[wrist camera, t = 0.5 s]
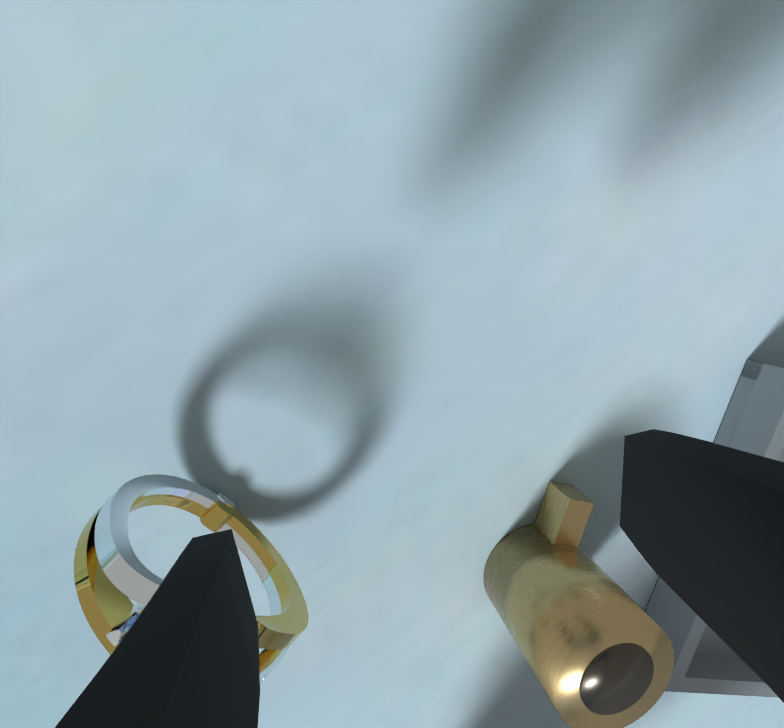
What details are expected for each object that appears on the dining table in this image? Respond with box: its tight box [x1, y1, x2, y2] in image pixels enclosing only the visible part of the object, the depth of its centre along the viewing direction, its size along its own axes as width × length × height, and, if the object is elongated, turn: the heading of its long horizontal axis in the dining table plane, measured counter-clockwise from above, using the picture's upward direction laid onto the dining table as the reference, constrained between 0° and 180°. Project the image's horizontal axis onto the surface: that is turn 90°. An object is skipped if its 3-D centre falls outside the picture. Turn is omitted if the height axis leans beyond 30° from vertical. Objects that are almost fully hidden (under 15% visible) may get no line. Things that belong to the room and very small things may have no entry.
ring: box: [74, 474, 308, 683], centre depth 15 cm, size 7×3×8 cm, turn 44°
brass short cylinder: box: [484, 482, 674, 728], centre depth 19 cm, size 7×5×6 cm
